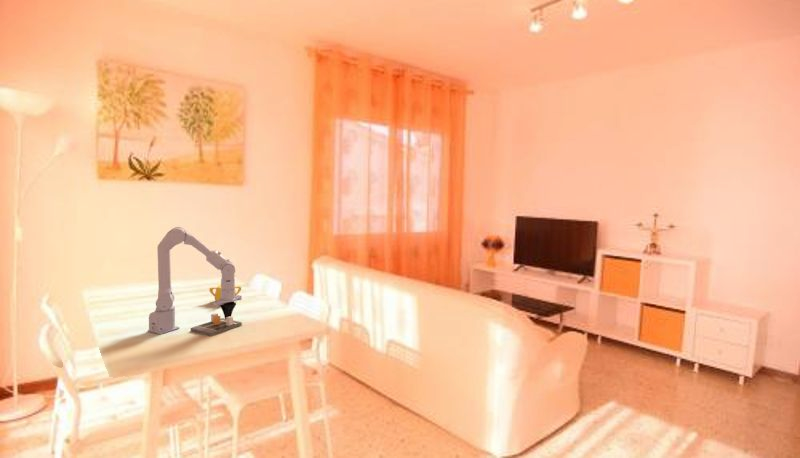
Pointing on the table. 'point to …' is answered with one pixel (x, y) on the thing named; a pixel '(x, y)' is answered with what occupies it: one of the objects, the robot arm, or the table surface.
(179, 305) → the table surface
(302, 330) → the table surface
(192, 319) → the table surface
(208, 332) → the panel
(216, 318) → the breaker
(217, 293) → the teapot
